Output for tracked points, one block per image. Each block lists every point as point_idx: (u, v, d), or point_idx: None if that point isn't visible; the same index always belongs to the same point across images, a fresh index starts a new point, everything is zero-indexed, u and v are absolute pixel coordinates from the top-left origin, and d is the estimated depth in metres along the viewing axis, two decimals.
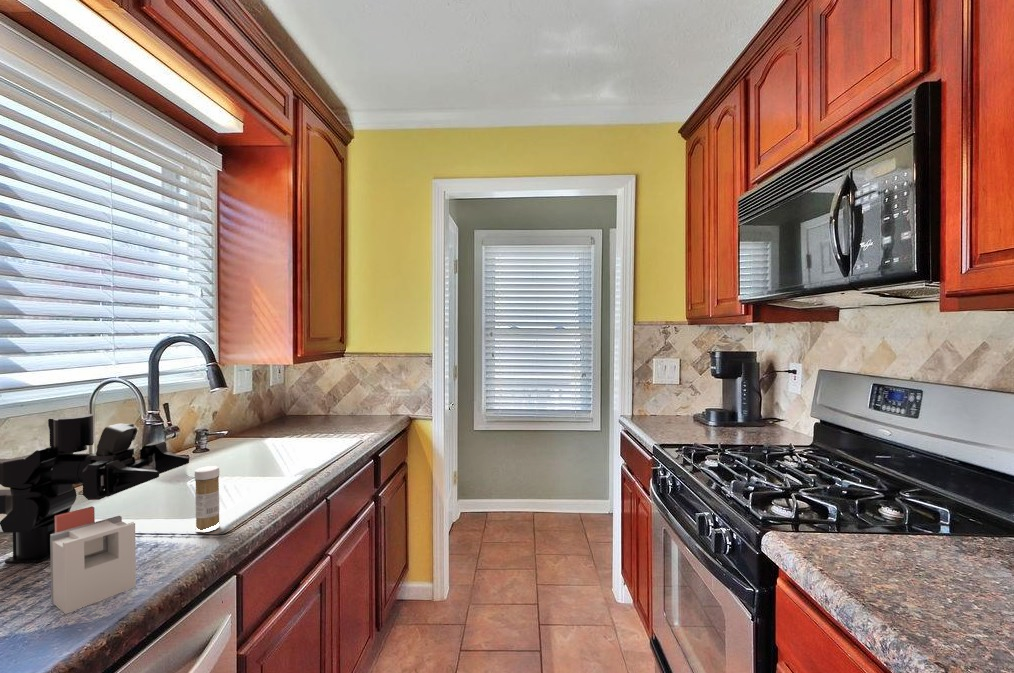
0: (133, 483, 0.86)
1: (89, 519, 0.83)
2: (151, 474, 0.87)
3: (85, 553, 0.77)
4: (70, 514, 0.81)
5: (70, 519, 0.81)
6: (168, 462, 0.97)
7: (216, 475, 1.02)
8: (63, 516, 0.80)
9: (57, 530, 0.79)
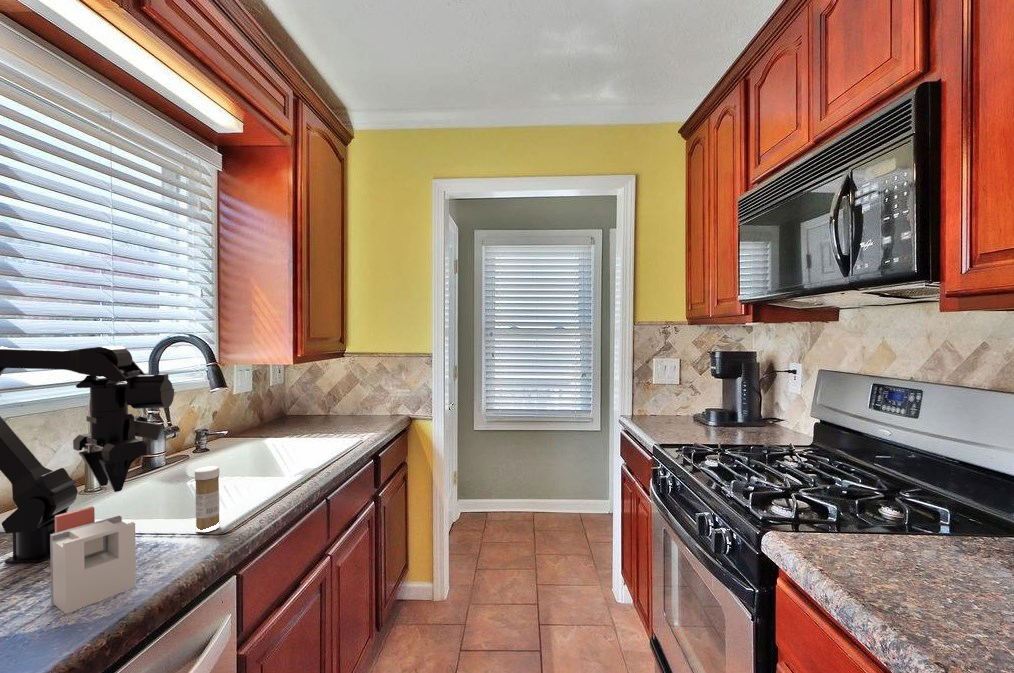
0: (112, 475, 0.90)
1: (89, 519, 0.83)
2: (118, 485, 0.92)
3: (85, 553, 0.77)
4: (70, 514, 0.81)
5: (70, 519, 0.81)
6: (101, 465, 0.95)
7: (216, 475, 1.02)
8: (63, 516, 0.80)
9: (57, 530, 0.79)
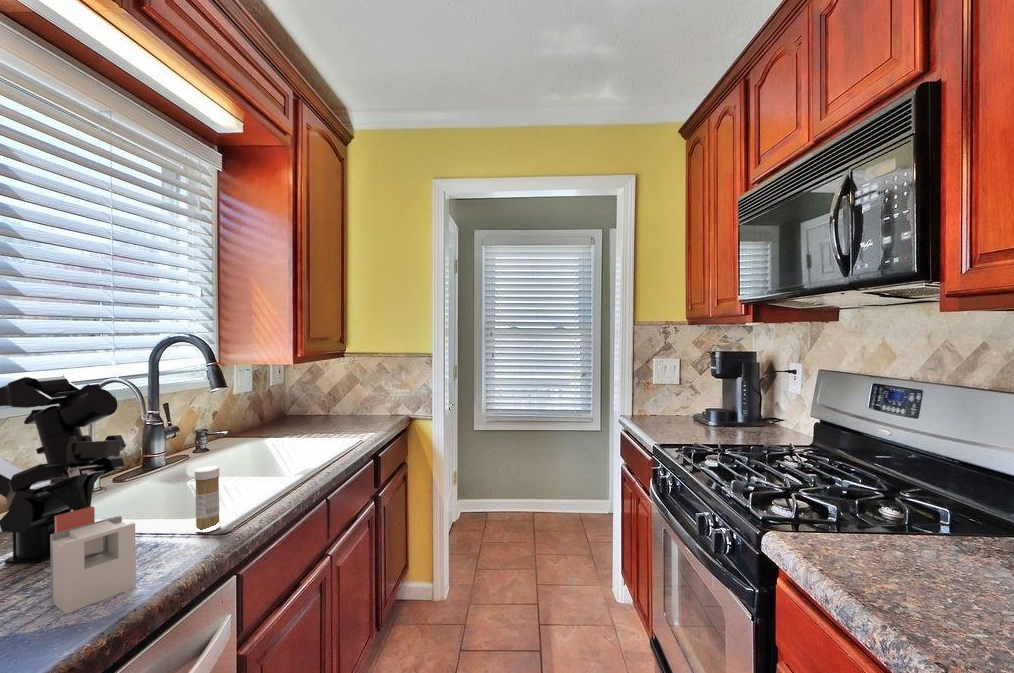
0: (66, 500, 0.87)
1: (89, 519, 0.83)
2: None
3: (85, 553, 0.77)
4: (70, 514, 0.81)
5: (70, 519, 0.81)
6: None
7: (216, 475, 1.02)
8: (63, 516, 0.80)
9: (57, 530, 0.79)
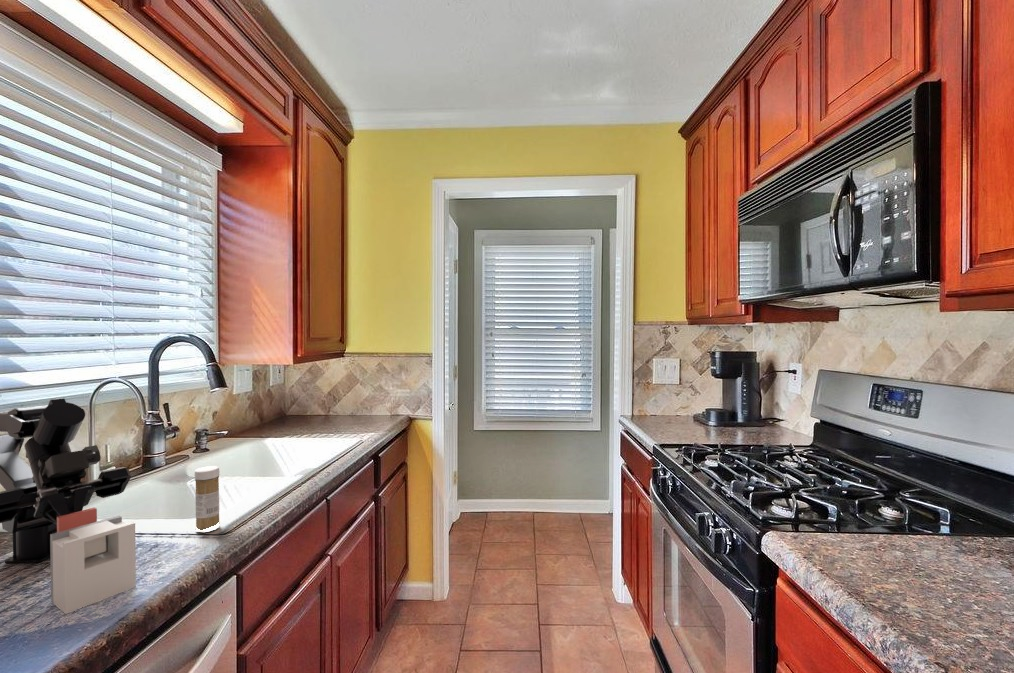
0: None
1: (91, 521, 0.82)
2: None
3: (87, 555, 0.77)
4: (72, 515, 0.80)
5: (72, 521, 0.80)
6: None
7: (216, 475, 1.02)
8: (65, 517, 0.80)
9: (59, 531, 0.79)
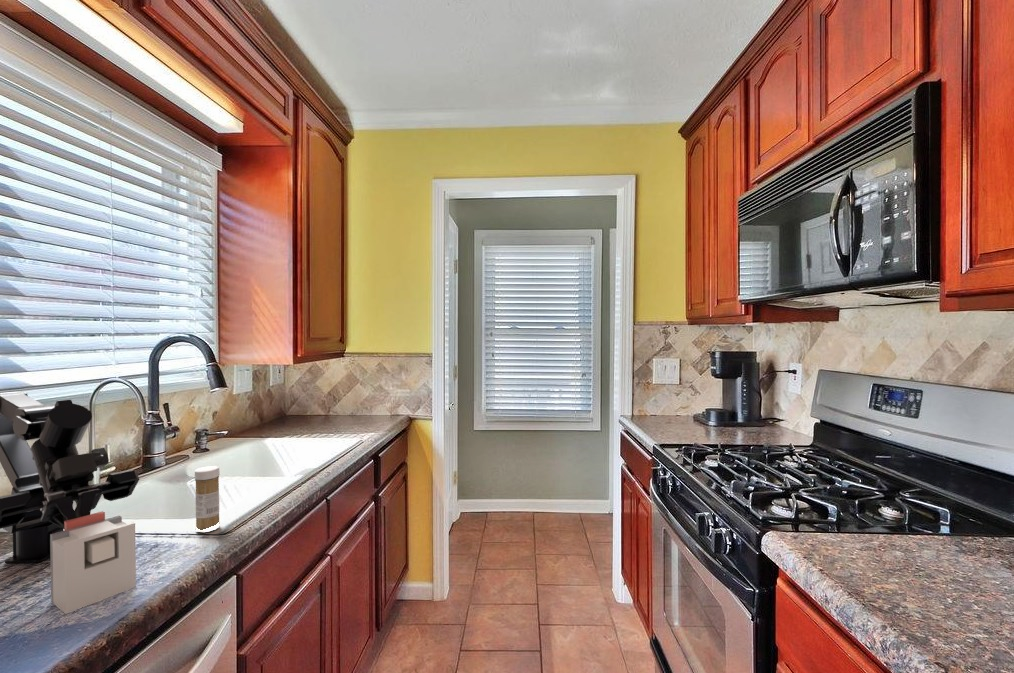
0: None
1: None
2: None
3: (96, 560, 0.75)
4: (80, 519, 0.78)
5: (80, 525, 0.78)
6: None
7: (216, 475, 1.02)
8: (73, 522, 0.78)
9: None
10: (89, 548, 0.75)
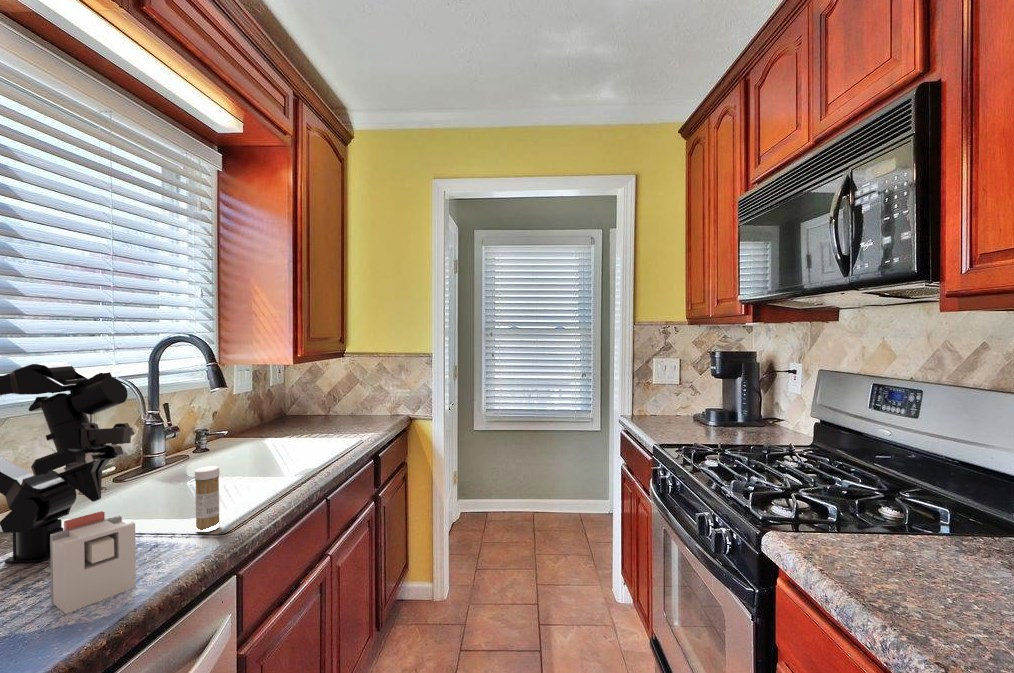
0: (78, 486, 0.89)
1: None
2: (93, 495, 0.90)
3: (96, 560, 0.75)
4: (80, 519, 0.79)
5: (79, 525, 0.79)
6: None
7: (216, 475, 1.02)
8: (73, 521, 0.78)
9: None
10: (88, 547, 0.75)
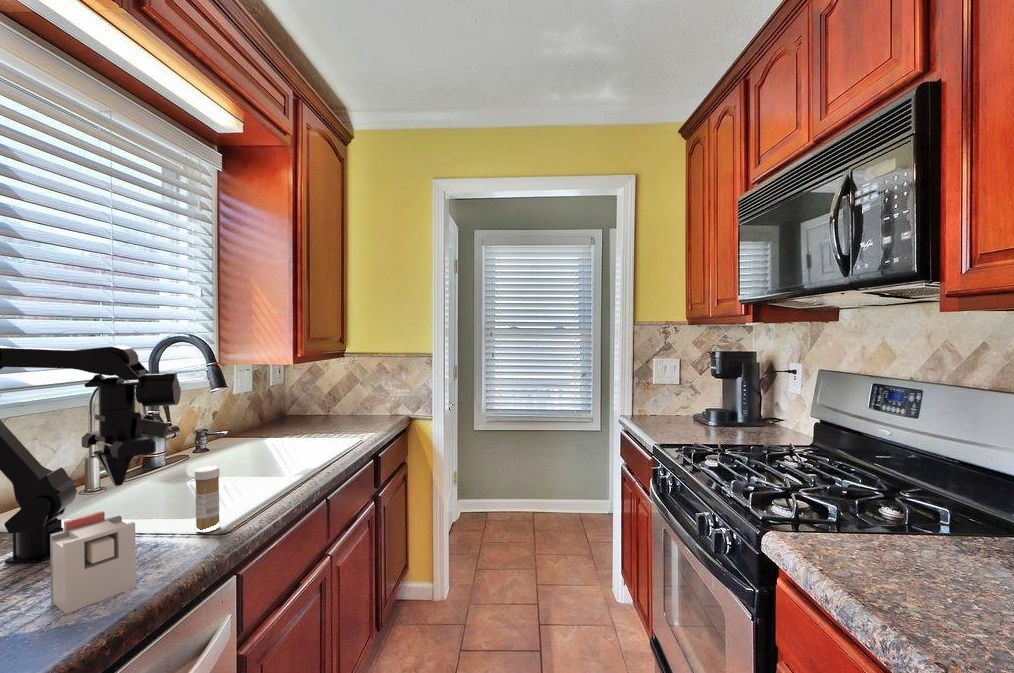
0: (113, 469, 0.94)
1: None
2: (119, 480, 0.95)
3: (96, 560, 0.75)
4: (80, 519, 0.79)
5: (79, 525, 0.79)
6: None
7: (216, 475, 1.02)
8: (73, 521, 0.78)
9: None
10: (88, 547, 0.75)
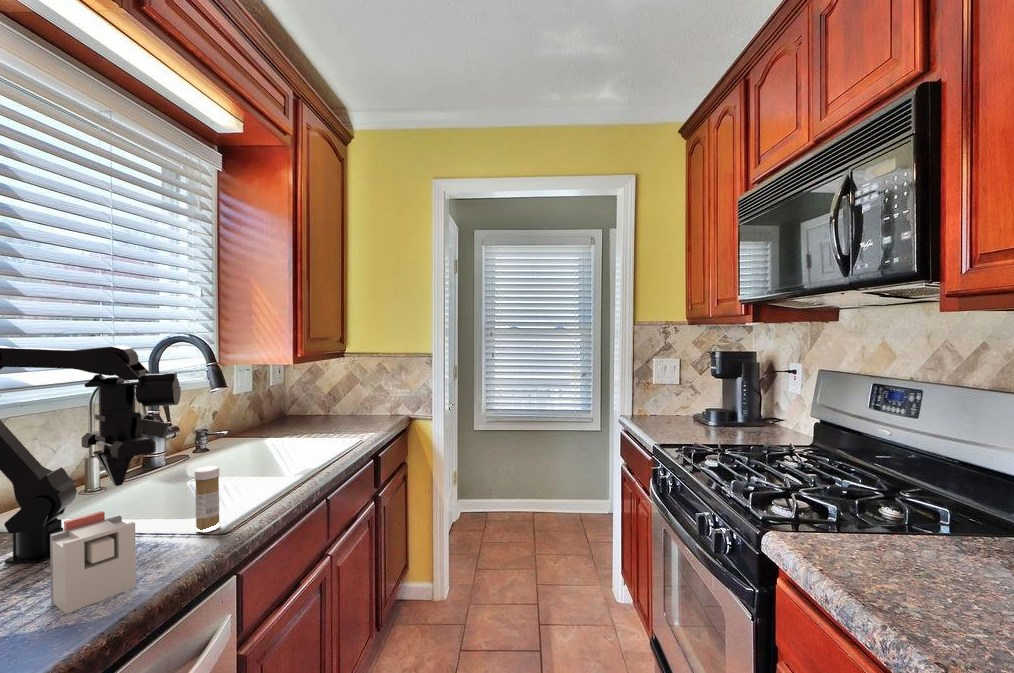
0: (113, 469, 0.94)
1: None
2: (119, 480, 0.95)
3: (96, 560, 0.75)
4: (80, 519, 0.79)
5: (79, 525, 0.79)
6: None
7: (216, 475, 1.02)
8: (73, 521, 0.78)
9: None
10: (88, 547, 0.75)
